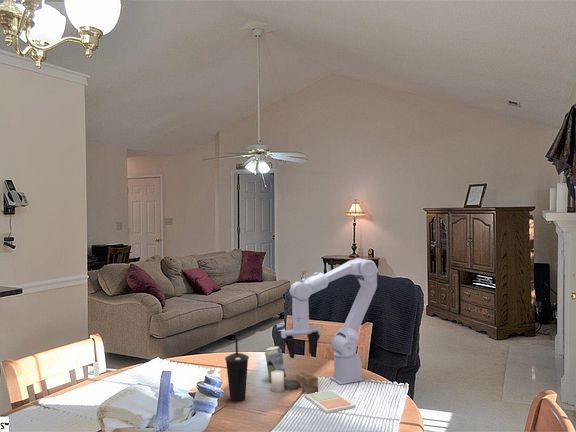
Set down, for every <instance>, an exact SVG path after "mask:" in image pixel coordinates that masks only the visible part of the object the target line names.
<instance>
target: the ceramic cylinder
mask: <svg viewBox="0 0 576 432" xmlns="http://www.w3.org/2000/svg"><path fill="white" fill-rule="evenodd" d="M284 381H285V378H284V371H281V370H275V371H272V372H271V380H270V382H271V385H270V386H271V387H270V388H271V391H272V392H274V393H282V392H284V391H285V389H284Z"/></svg>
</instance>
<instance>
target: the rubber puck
mask: <svg viewBox="0 0 576 432" xmlns="http://www.w3.org/2000/svg"><path fill="white" fill-rule="evenodd" d="M299 387H300V386H299V384H298V381H297V379H296V380H295V379H288V380H284V390H287V391H295V390H298V389H299Z"/></svg>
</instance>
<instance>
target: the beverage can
mask: <svg viewBox="0 0 576 432" xmlns="http://www.w3.org/2000/svg"><path fill="white" fill-rule="evenodd" d="M282 352H283V351H282V349H281V348H280V346H270V347H267V348H266V350H265V353H264V355H265V361H266V367H267V374H268V380H269V381H271V372H272V371H275V370H281V371H284V379H286V377H287V375H286V374H287V373H286V369H285V363H284V358H283V357H284V356H283V353H282Z"/></svg>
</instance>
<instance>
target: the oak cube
mask: <svg viewBox="0 0 576 432" xmlns="http://www.w3.org/2000/svg"><path fill="white" fill-rule="evenodd" d="M311 374H312V373H309V372H308V371H302V372H301V371H300V372H296V375H295V376H296V381H298V384H299V387H300V388H301V389H302V376H305V375H311Z"/></svg>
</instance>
